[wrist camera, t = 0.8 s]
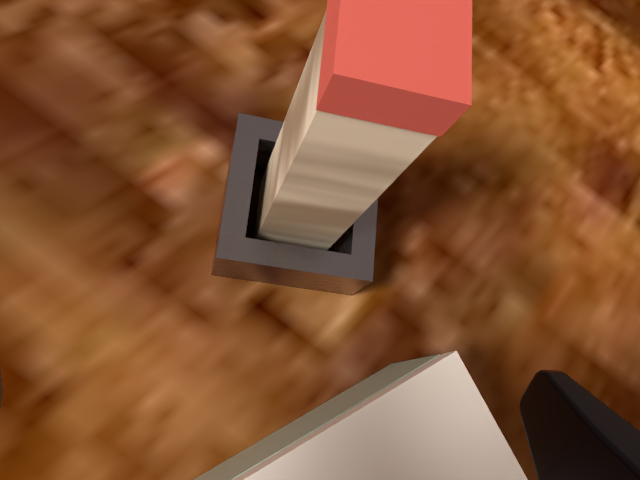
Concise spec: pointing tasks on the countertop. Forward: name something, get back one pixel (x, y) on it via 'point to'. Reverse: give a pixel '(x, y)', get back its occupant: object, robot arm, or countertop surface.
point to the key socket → (277, 258)
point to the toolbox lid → (404, 435)
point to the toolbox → (312, 420)
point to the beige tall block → (364, 113)
